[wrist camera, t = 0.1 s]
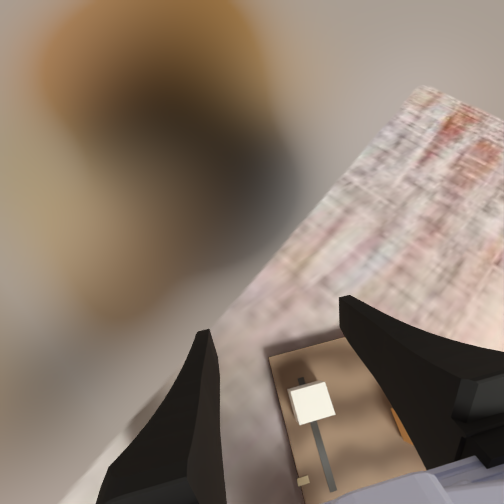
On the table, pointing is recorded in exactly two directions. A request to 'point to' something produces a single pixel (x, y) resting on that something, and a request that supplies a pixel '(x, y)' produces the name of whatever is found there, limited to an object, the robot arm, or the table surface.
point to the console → (341, 424)
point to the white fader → (310, 402)
